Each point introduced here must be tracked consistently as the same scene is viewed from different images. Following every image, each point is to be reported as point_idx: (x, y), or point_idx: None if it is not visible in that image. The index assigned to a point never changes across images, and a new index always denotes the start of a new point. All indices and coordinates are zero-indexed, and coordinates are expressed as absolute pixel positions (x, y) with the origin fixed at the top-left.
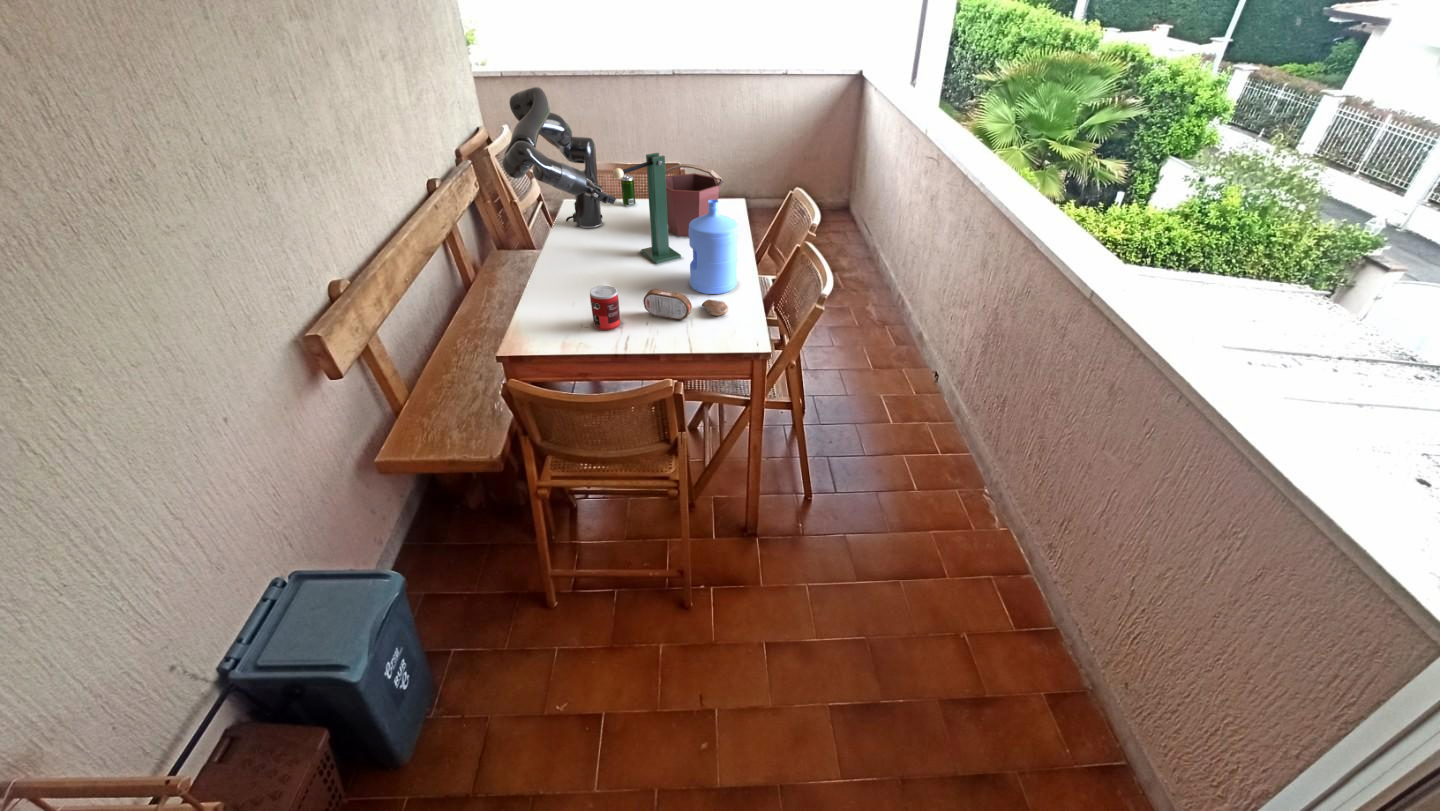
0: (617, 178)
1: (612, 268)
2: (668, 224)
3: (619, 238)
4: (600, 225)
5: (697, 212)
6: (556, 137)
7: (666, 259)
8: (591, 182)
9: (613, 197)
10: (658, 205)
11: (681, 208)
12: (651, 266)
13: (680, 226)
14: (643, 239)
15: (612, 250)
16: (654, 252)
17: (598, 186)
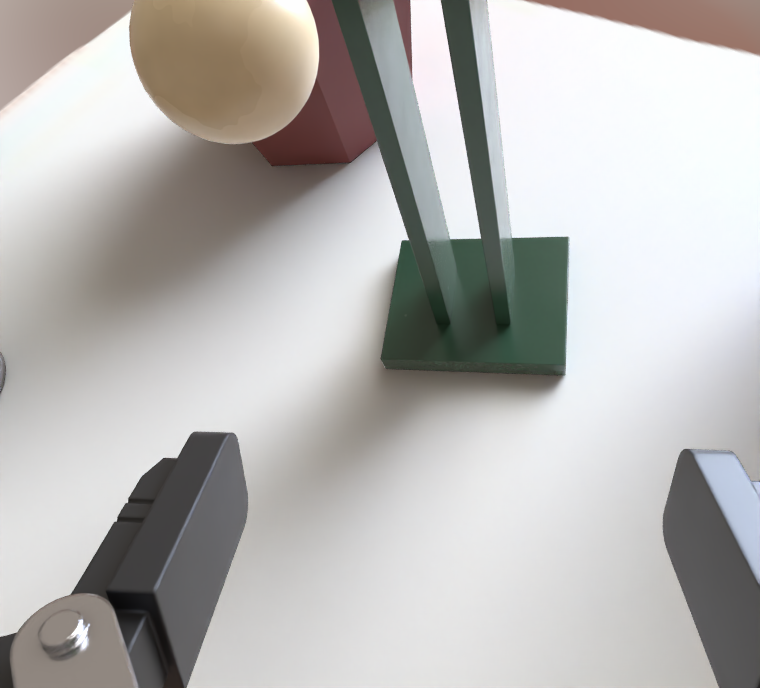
0: (283, 126)
1: (452, 600)
2: (261, 147)
3: (170, 363)
4: (4, 364)
5: (404, 3)
6: None
7: (566, 312)
8: (130, 660)
9: (750, 494)
10: (485, 90)
11: (339, 35)
12: (566, 406)
13: (349, 118)
14: (261, 284)
15: (253, 463)
16: (459, 321)
17: (213, 494)
